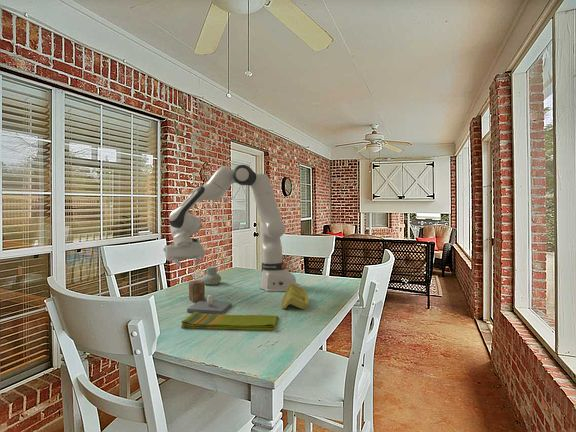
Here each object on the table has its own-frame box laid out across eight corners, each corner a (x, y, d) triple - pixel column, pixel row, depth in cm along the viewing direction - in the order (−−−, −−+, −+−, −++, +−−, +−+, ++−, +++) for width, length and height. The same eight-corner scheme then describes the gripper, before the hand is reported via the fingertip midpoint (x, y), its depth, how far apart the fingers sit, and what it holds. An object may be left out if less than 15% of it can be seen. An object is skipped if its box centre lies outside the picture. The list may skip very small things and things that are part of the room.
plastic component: (309, 305, 148) (288, 295, 148) (301, 319, 149) (281, 310, 149) (306, 290, 168) (288, 281, 168) (300, 303, 169) (282, 294, 168)
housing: (200, 297, 168) (200, 279, 168) (204, 300, 164) (204, 282, 163) (189, 299, 165) (188, 281, 165) (192, 302, 160) (192, 283, 160)
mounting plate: (231, 305, 155) (231, 292, 155) (222, 314, 143) (221, 299, 143) (199, 304, 158) (199, 290, 158) (187, 312, 146) (186, 297, 146)
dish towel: (194, 316, 143) (194, 308, 143) (278, 318, 139) (278, 311, 139) (180, 329, 127) (179, 321, 127) (273, 333, 124) (273, 324, 124)
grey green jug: (215, 281, 204) (215, 264, 203) (223, 283, 198) (223, 266, 198) (199, 284, 196) (199, 267, 196) (207, 286, 190) (207, 269, 190)
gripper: (163, 241, 174) (169, 263, 166) (202, 239, 185) (208, 259, 178) (161, 249, 178) (166, 270, 170) (199, 246, 189) (205, 266, 182)
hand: (188, 264), depth 174 cm, fingers open, 8 cm apart
